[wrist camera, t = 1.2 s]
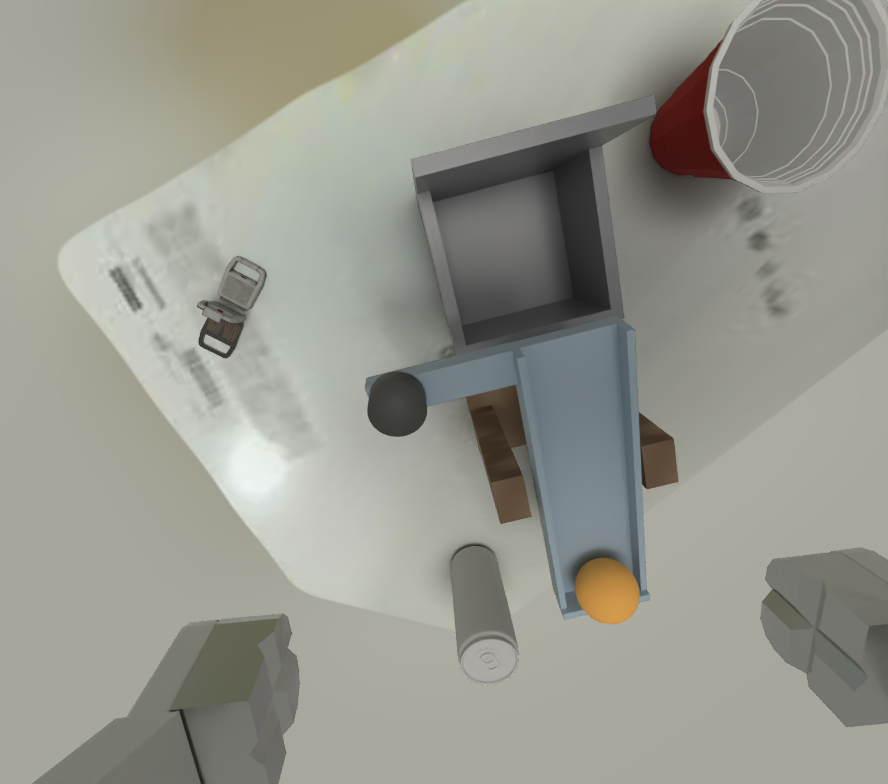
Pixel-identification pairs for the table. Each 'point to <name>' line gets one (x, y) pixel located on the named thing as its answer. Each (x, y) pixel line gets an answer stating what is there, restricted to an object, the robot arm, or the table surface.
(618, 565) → the ball
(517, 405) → the stand
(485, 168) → the bin
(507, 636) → the beverage can
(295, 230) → the table surface
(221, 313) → the grey hinged case
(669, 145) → the plastic cup
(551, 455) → the lever
